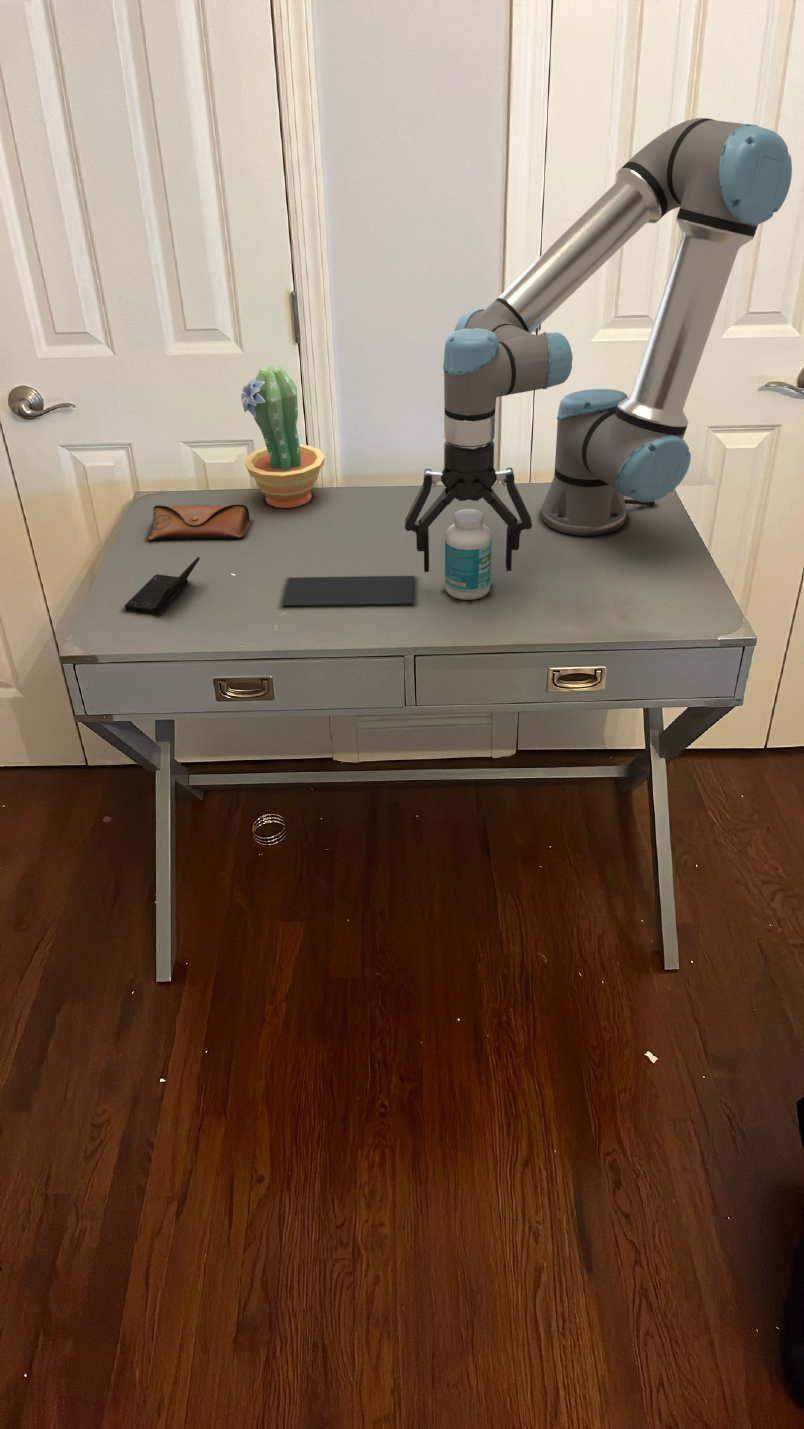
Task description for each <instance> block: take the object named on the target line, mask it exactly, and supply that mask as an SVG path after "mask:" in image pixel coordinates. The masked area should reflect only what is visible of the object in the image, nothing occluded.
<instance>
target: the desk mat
mask: <svg viewBox="0 0 804 1429" xmlns="http://www.w3.org/2000/svg"><path fill="white" fill-rule="evenodd" d="M414 579H415V578H414V575H391V576H390V575H387V576H386V575H385V576H384V575H381V576H380V575H379V576H320V577H319V576H317V577H316V576H315V577H312V576H311V577H309V576H308V577H289V579H288V583H287V586H286V592H285V596H284V600H283V604H282V605H283V608H312V607H315V608H316V607H317V608H318V607H319V608H320V607H322V608H323V607H386V606H387V607H389V606H413V605H414Z"/></svg>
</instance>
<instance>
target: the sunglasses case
mask: <svg viewBox="0 0 804 1429" xmlns="http://www.w3.org/2000/svg"><path fill="white" fill-rule="evenodd" d="M250 519H251V518H250V511H249V508H248V507H247V506H246V505H245V504H240V503H238V504H236V503H235V504H228V505H210V504H209V505H205V504H204V505H202V504H201V505H161V504H159V505H155V506H154V507H153V514H152V523H151V531H150V534H149V536H148V541H157V540H229V539H241V538H243V537H245V535H246V533H247V531H248V529H249V527H250V524H251V520H250Z"/></svg>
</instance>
